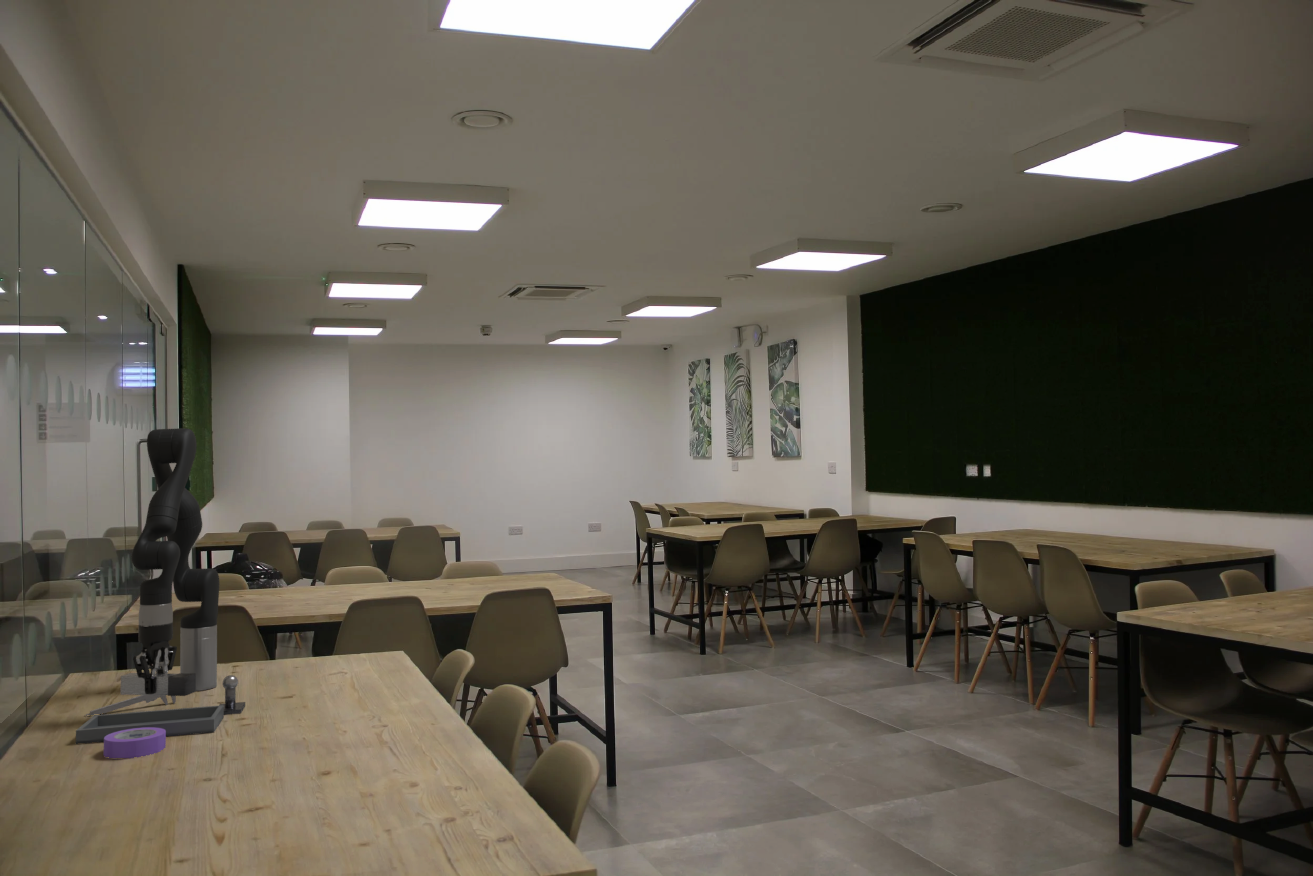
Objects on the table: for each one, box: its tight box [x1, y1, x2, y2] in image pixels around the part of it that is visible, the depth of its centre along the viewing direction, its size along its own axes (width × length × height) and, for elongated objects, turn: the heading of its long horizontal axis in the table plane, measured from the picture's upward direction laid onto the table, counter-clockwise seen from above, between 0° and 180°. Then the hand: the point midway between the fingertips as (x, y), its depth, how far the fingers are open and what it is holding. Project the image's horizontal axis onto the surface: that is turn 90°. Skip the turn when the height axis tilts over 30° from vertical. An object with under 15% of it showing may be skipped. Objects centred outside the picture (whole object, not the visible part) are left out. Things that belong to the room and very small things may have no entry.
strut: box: [120, 672, 197, 697], centre depth 230 cm, size 4×17×4 cm, turn 84°
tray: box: [75, 704, 225, 745], centre depth 217 cm, size 14×28×3 cm, turn 107°
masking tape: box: [103, 727, 167, 759], centre depth 201 cm, size 12×12×4 cm
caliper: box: [85, 695, 177, 716], centre depth 237 cm, size 20×1×6 cm, turn 129°
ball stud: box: [218, 674, 246, 715], centre depth 235 cm, size 8×6×9 cm
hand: (155, 691), depth 230 cm, fingers closed on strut, 3 cm apart
